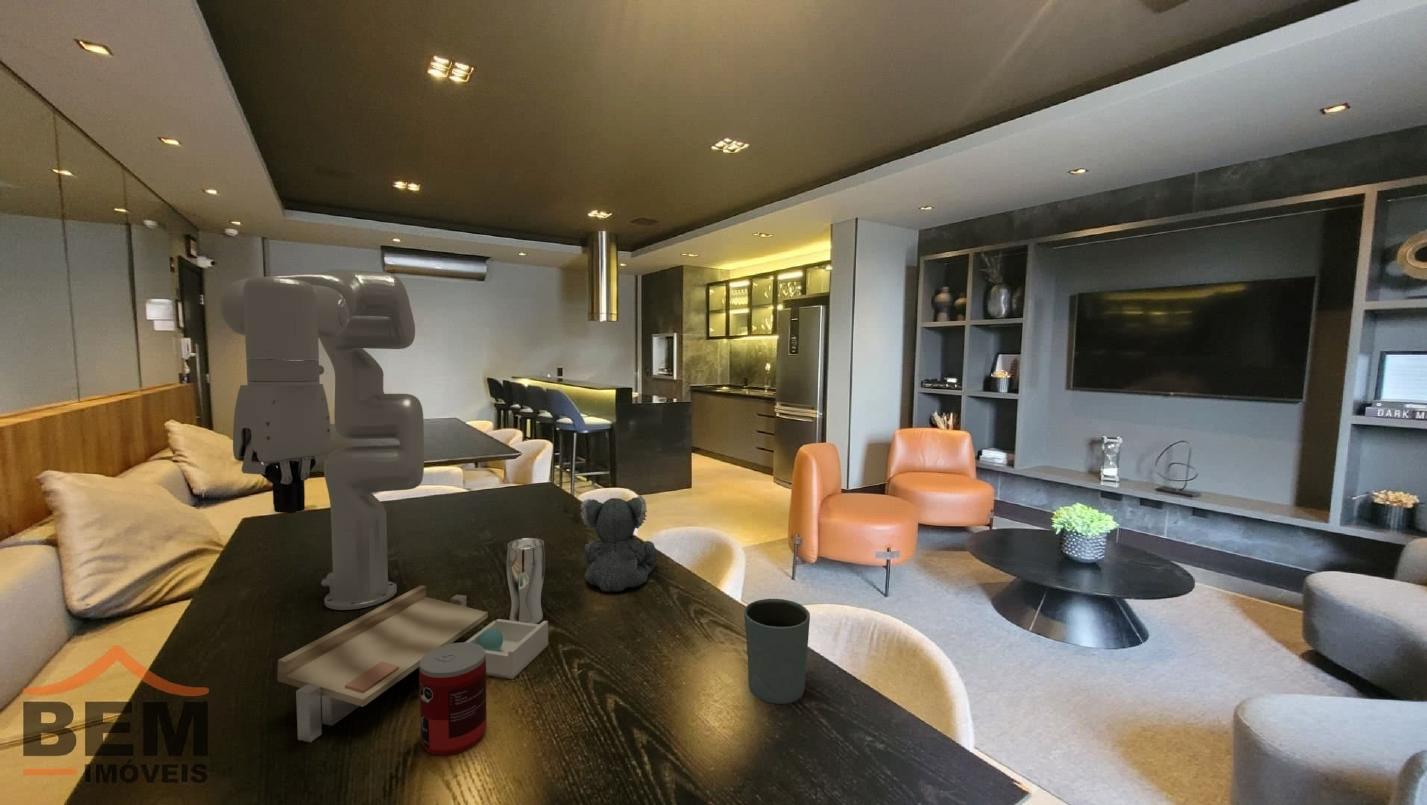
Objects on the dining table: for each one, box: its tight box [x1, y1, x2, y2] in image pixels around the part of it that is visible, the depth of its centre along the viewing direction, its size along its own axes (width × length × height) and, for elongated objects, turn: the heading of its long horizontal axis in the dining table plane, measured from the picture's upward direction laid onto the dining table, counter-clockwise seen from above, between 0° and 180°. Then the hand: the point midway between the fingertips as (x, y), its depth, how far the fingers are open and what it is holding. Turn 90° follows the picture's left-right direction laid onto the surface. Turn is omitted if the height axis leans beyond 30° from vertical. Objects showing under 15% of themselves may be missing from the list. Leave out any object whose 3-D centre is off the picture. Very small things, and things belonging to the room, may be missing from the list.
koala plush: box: [579, 495, 658, 593], centre depth 125 cm, size 17×18×20 cm
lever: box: [276, 584, 489, 708], centre depth 85 cm, size 26×14×4 cm, turn 167°
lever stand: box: [295, 594, 467, 743], centre depth 86 cm, size 31×2×7 cm, turn 167°
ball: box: [477, 629, 503, 652], centre depth 92 cm, size 4×4×4 cm
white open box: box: [465, 618, 549, 680], centre depth 92 cm, size 11×11×4 cm
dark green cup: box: [743, 598, 811, 705], centre depth 84 cm, size 10×10×12 cm
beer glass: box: [505, 537, 546, 624], centre depth 105 cm, size 7×7×15 cm
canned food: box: [418, 641, 488, 756], centre depth 72 cm, size 8×8×11 cm
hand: (289, 510), depth 73 cm, fingers closed
